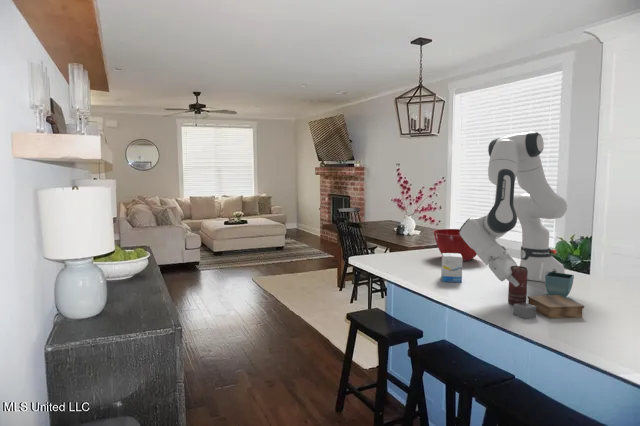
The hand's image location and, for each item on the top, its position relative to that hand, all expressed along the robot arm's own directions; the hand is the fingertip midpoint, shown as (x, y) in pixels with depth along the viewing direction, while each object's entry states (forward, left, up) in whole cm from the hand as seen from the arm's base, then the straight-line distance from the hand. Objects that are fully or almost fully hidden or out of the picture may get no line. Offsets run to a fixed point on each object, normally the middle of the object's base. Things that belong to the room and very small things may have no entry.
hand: (519, 283), depth 156 cm
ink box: (+10, -36, -8) cm, 39 cm away
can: (0, 0, -8) cm, 8 cm away
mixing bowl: (-13, -80, -8) cm, 82 cm away
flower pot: (-21, -6, -8) cm, 23 cm away
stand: (-8, +10, -8) cm, 14 cm away
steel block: (+5, +13, -8) cm, 16 cm away
